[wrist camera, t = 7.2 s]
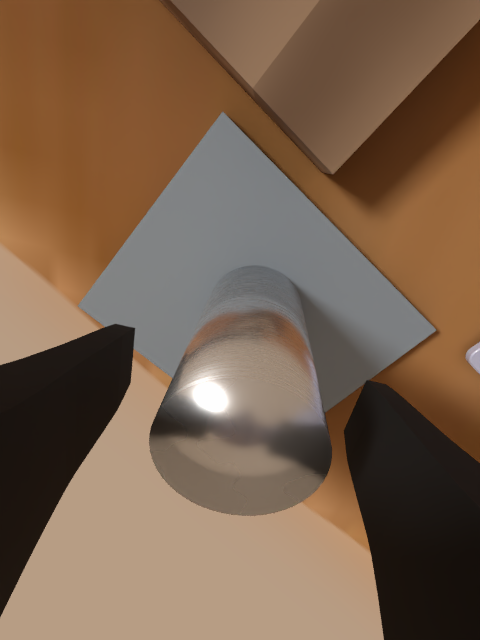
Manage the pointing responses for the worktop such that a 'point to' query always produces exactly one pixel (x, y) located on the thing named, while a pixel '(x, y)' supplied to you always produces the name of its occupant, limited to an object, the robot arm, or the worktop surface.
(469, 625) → the robot arm
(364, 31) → the bore block
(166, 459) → the plug
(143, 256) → the mat
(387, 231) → the worktop surface
